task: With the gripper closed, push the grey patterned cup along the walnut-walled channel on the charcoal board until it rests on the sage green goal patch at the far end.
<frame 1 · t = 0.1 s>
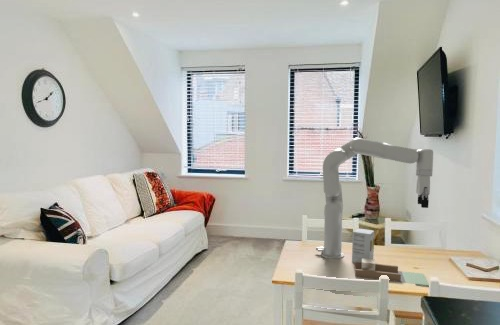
hand: (422, 205, 184), 31 cm above the table, tool pointing down, fingers open, 9 cm apart
supplement box: (362, 262, 189), on the table
channel board: (389, 276, 170), on the table
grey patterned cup: (368, 272, 172), point 1 cm above the table, touching channel board
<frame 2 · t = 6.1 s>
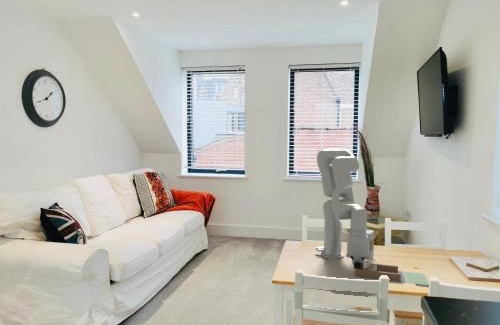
hand: (357, 269, 173), 2 cm above the table, tool pointing down, fingers closed
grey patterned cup: (369, 273, 172), point 1 cm above the table, touching gripper
everything else where it was.
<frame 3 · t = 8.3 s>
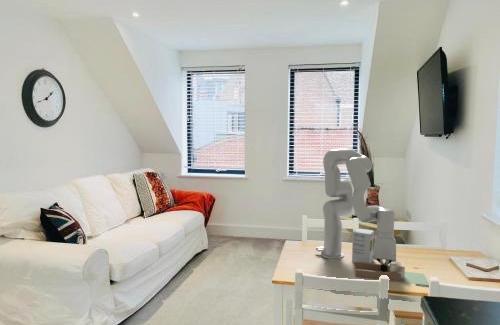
hand: (383, 272, 170), 2 cm above the table, tool pointing down, fingers closed
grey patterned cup: (396, 276, 168), point 1 cm above the table, touching gripper
everything else where it was.
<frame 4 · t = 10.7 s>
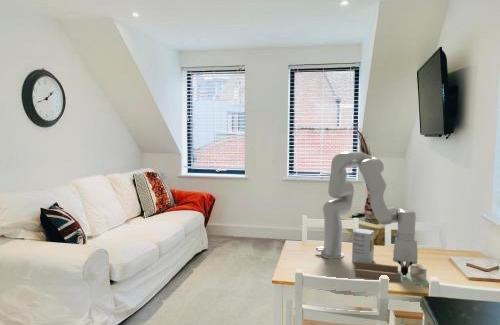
hand: (404, 274, 168), 2 cm above the table, tool pointing down, fingers closed
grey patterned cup: (417, 278, 165), point 1 cm above the table, touching channel board, gripper
everything else where it was.
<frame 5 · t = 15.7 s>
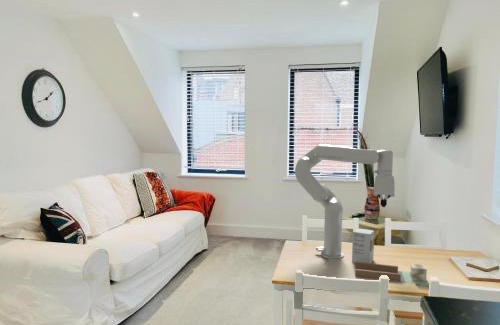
hand: (383, 206, 191), 29 cm above the table, tool pointing down, fingers closed
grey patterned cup: (418, 278, 165), point 1 cm above the table, touching channel board
everything else where it was.
at the end: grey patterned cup inside the target area (1.2 cm from its centre), point 0.6 cm above the table; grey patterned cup tilted 0° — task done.
